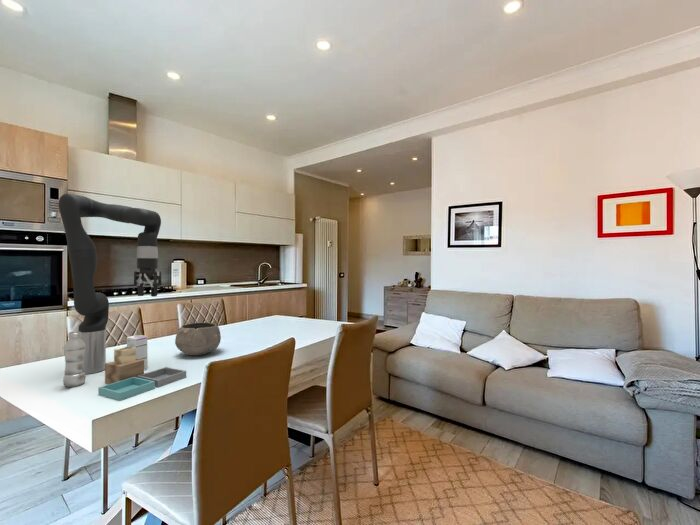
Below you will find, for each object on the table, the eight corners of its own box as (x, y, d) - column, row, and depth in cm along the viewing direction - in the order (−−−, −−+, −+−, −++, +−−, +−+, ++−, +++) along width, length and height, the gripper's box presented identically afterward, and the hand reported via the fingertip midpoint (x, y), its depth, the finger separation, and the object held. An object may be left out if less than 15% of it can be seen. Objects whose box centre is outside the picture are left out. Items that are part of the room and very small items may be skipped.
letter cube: (114, 362, 125) (114, 349, 125) (127, 359, 129) (127, 346, 129) (122, 364, 123) (122, 350, 123) (135, 360, 127) (135, 347, 127)
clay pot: (217, 347, 181) (217, 319, 181) (224, 355, 163) (224, 325, 163) (173, 352, 170) (173, 323, 170) (176, 362, 152) (176, 330, 152)
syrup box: (148, 368, 143) (148, 335, 143) (134, 372, 138) (134, 338, 138) (139, 367, 145) (140, 334, 146) (126, 370, 140) (126, 336, 140)
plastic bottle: (67, 390, 118) (67, 334, 118) (59, 387, 121) (60, 332, 122) (88, 385, 123) (89, 331, 124) (81, 381, 127) (81, 330, 127)
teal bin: (98, 396, 113) (98, 387, 113) (133, 384, 124) (133, 376, 124) (119, 402, 108) (119, 393, 108) (154, 389, 119) (154, 381, 119)
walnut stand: (104, 384, 124) (105, 363, 124) (129, 377, 132) (129, 357, 132) (119, 388, 120) (119, 366, 120) (144, 380, 128) (144, 360, 128)
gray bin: (136, 383, 124) (136, 376, 124) (165, 374, 135) (165, 367, 135) (157, 388, 119) (157, 380, 119) (186, 378, 130) (186, 370, 130)
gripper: (167, 257, 138) (167, 296, 138) (145, 257, 144) (145, 294, 144) (149, 257, 131) (149, 297, 131) (127, 257, 137) (127, 296, 137)
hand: (147, 296), depth 138 cm, fingers open, 8 cm apart
